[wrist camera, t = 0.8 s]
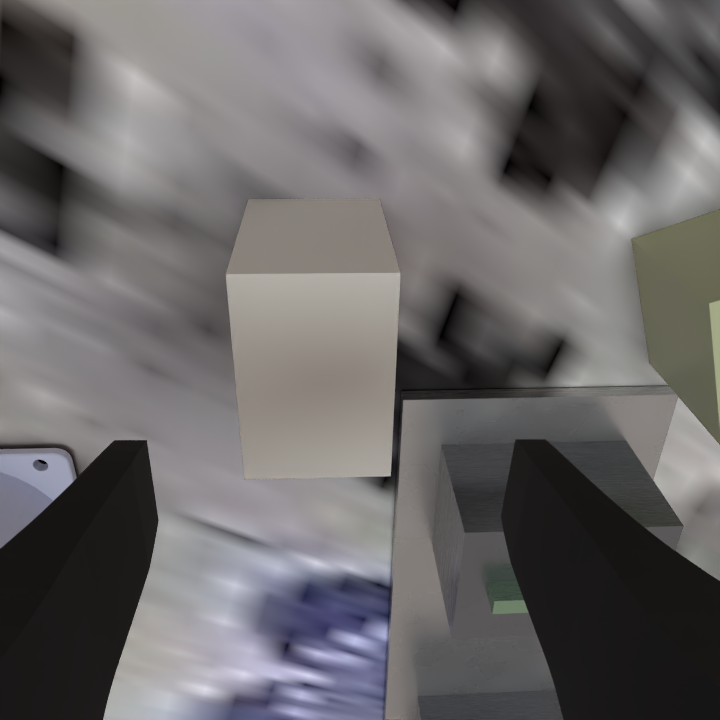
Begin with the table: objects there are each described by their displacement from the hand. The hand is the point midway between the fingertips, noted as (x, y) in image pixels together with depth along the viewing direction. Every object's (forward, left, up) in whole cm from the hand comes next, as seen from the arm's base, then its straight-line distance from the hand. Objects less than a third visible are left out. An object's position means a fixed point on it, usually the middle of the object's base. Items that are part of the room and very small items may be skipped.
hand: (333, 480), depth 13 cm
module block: (0, 0, -10) cm, 10 cm away
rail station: (+8, -16, -10) cm, 21 cm away
